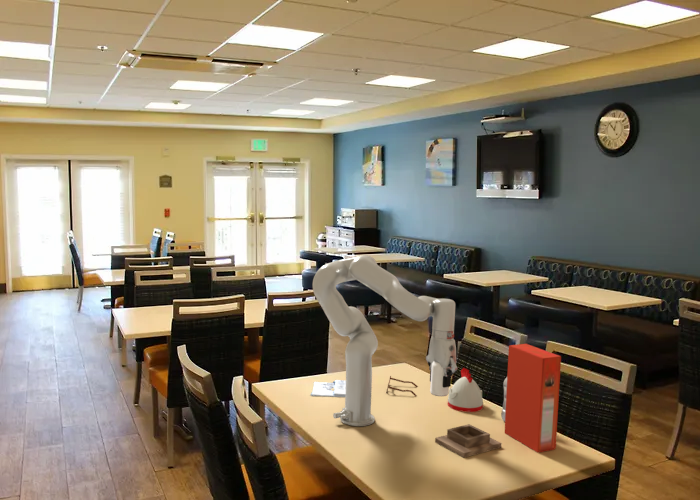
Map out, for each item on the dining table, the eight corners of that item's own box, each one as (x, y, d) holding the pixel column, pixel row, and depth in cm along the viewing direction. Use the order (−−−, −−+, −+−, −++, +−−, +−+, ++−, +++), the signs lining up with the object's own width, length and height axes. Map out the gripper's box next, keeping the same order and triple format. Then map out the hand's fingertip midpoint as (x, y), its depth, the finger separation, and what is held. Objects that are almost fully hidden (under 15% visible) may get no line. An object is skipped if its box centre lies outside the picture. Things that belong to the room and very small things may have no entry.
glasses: (388, 385, 270) (388, 374, 269) (418, 387, 268) (418, 376, 268) (385, 395, 257) (386, 383, 256) (417, 397, 255) (417, 385, 255)
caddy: (463, 457, 197) (464, 444, 197) (435, 442, 209) (435, 429, 208) (501, 447, 206) (501, 434, 206) (471, 432, 218) (472, 420, 217)
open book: (358, 399, 251) (358, 394, 251) (309, 397, 251) (309, 392, 251) (358, 384, 270) (358, 379, 270) (312, 383, 270) (313, 378, 270)
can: (448, 397, 214) (450, 363, 212) (429, 395, 215) (431, 362, 214) (448, 391, 220) (450, 359, 219) (430, 389, 221) (432, 357, 220)
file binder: (536, 452, 203) (542, 358, 200) (503, 433, 218) (508, 345, 215) (555, 449, 206) (561, 356, 203) (522, 430, 222) (527, 343, 219)
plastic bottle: (498, 418, 233) (501, 367, 231) (515, 418, 233) (518, 367, 231) (504, 425, 226) (507, 372, 224) (521, 425, 227) (525, 372, 225)
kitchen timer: (471, 398, 254) (473, 363, 253) (489, 410, 241) (491, 373, 240) (441, 401, 250) (443, 365, 249) (457, 413, 237) (459, 375, 236)
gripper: (468, 338, 210) (464, 389, 212) (434, 328, 225) (432, 375, 226) (451, 340, 206) (448, 392, 208) (418, 329, 220) (416, 378, 222)
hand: (440, 383), depth 217 cm, fingers closed on can, 6 cm apart
